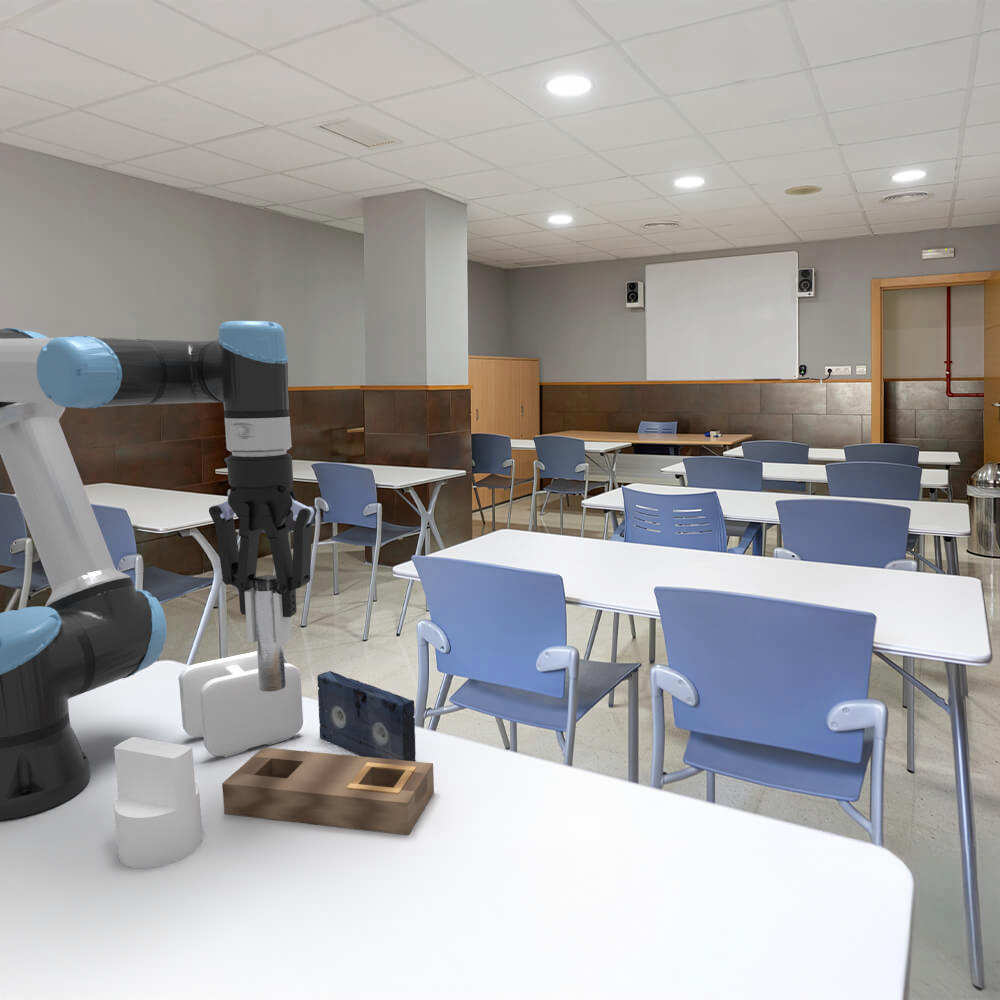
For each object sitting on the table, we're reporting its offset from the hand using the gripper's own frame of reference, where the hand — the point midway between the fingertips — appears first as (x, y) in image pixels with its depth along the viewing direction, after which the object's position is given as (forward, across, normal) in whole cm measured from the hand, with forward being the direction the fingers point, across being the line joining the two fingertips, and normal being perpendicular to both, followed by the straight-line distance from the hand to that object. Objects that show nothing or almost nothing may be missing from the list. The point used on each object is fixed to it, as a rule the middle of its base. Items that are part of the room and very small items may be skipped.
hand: (269, 640), depth 101 cm
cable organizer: (+21, -14, +15) cm, 29 cm away
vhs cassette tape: (+21, +6, +14) cm, 26 cm away
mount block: (+21, +7, 0) cm, 22 cm away
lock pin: (+6, 0, 0) cm, 6 cm away
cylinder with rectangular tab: (+21, -8, -13) cm, 26 cm away
